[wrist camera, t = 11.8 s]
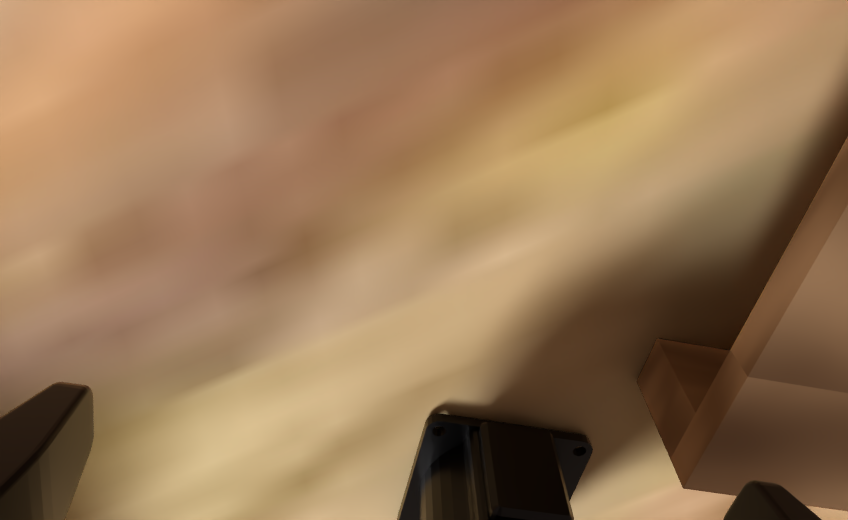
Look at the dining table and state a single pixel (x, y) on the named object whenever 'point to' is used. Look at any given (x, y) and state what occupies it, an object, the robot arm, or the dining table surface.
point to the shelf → (770, 375)
